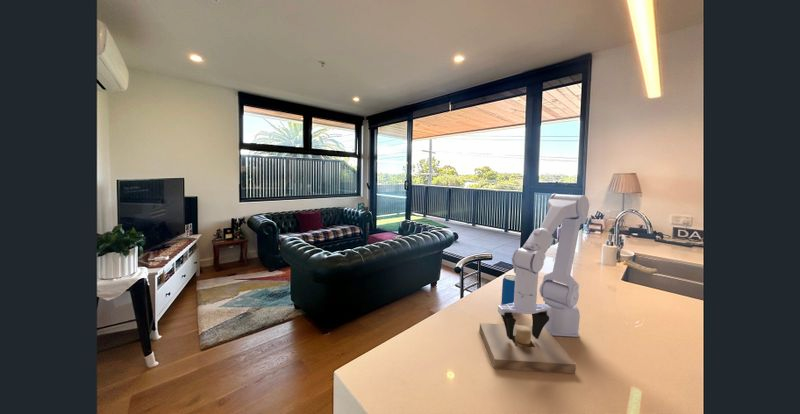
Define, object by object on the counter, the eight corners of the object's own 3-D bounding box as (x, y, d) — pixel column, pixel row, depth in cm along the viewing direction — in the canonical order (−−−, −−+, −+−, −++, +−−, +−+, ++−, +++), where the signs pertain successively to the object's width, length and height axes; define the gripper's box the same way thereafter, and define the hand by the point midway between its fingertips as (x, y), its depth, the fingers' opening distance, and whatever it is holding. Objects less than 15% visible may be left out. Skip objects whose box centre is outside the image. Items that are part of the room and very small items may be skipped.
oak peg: (524, 344, 82) (526, 325, 81) (532, 353, 78) (534, 333, 77) (511, 345, 82) (512, 326, 81) (518, 354, 78) (520, 334, 77)
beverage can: (521, 313, 101) (523, 281, 100) (502, 311, 103) (504, 279, 101) (517, 305, 108) (519, 275, 107) (499, 303, 109) (501, 273, 108)
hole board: (543, 333, 88) (544, 326, 88) (575, 373, 70) (576, 364, 70) (479, 330, 89) (479, 322, 89) (494, 368, 72) (494, 359, 71)
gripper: (541, 285, 83) (538, 328, 84) (494, 286, 81) (492, 330, 83) (557, 295, 76) (553, 342, 77) (505, 296, 74) (502, 344, 76)
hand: (522, 337), depth 79 cm, fingers open, 7 cm apart
